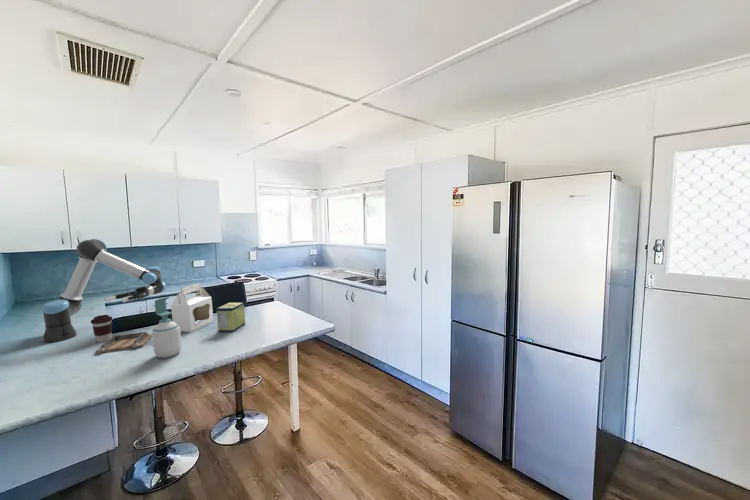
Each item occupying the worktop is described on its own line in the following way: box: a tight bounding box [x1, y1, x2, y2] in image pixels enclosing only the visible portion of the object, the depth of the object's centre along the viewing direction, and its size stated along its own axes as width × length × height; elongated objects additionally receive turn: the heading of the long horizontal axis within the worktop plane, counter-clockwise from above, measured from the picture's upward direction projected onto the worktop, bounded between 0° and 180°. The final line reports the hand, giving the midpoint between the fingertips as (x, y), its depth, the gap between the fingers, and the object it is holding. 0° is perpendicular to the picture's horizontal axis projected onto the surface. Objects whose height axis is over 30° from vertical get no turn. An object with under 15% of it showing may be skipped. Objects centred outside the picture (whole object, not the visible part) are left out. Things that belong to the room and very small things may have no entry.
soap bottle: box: [151, 296, 182, 359], centre depth 170 cm, size 12×12×31 cm
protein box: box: [216, 301, 246, 333], centre depth 210 cm, size 10×16×16 cm
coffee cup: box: [90, 314, 113, 343], centre depth 196 cm, size 10×10×15 cm
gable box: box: [170, 282, 214, 333], centre depth 217 cm, size 22×13×28 cm, turn 170°
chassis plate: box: [95, 331, 153, 354], centre depth 187 cm, size 22×21×4 cm
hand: (113, 300), depth 203 cm, fingers open, 13 cm apart
